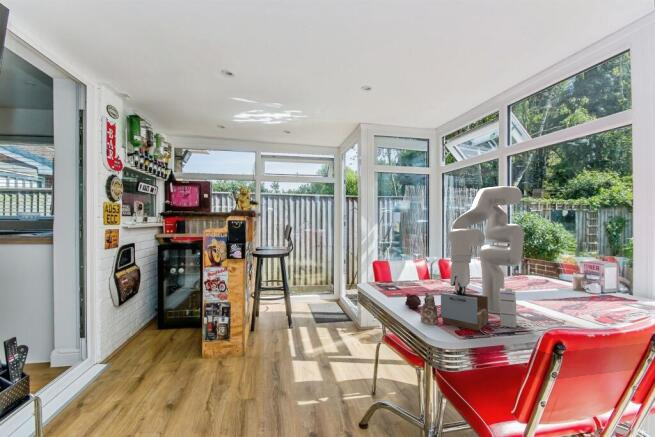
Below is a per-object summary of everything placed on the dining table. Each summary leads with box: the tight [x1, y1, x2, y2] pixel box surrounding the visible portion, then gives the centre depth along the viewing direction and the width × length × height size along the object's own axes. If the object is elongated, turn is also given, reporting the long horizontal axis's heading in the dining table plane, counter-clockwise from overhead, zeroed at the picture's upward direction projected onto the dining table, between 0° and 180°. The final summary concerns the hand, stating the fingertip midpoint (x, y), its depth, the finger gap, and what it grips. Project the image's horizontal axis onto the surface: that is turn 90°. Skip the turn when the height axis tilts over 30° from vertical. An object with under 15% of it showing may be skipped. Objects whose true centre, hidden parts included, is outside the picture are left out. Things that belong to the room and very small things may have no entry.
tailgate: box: [440, 292, 478, 324], centre depth 119 cm, size 2×14×10 cm, turn 46°
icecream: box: [405, 293, 422, 309], centre depth 147 cm, size 7×7×15 cm
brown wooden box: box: [442, 290, 489, 332], centre depth 125 cm, size 14×14×11 cm
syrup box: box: [499, 288, 517, 329], centre depth 122 cm, size 6×6×14 cm
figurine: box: [420, 292, 439, 325], centre depth 127 cm, size 7×7×12 cm
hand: (461, 302), depth 122 cm, fingers closed
